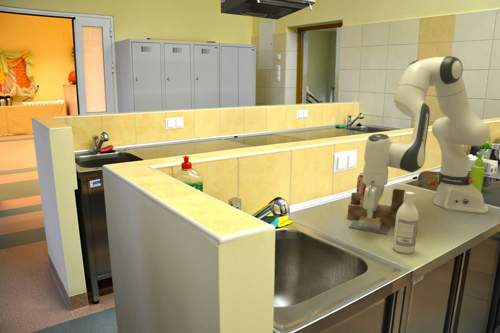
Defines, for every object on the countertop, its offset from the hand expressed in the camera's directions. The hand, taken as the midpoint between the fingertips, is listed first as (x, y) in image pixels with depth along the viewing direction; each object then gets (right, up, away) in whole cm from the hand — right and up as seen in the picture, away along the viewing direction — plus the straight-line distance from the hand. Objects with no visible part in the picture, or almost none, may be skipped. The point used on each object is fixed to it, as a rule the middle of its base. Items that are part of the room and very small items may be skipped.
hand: (372, 213), depth 154 cm
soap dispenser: (+68, +5, +52) cm, 85 cm away
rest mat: (-1, -6, +1) cm, 6 cm away
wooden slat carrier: (+4, -4, +9) cm, 11 cm away
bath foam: (+5, -10, -17) cm, 21 cm away
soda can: (+7, +2, +37) cm, 38 cm away
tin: (+49, +7, +60) cm, 78 cm away
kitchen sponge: (0, -5, +1) cm, 5 cm away
